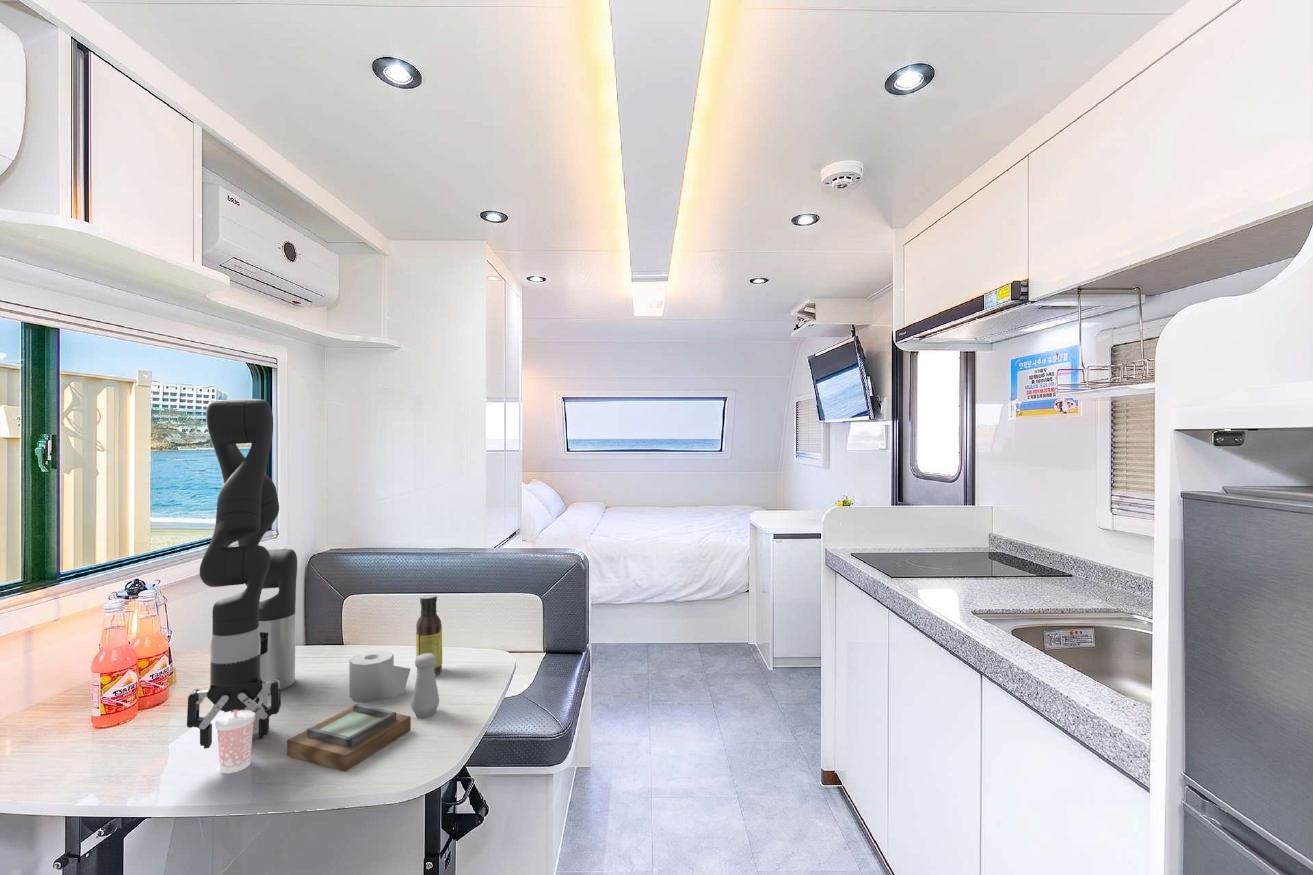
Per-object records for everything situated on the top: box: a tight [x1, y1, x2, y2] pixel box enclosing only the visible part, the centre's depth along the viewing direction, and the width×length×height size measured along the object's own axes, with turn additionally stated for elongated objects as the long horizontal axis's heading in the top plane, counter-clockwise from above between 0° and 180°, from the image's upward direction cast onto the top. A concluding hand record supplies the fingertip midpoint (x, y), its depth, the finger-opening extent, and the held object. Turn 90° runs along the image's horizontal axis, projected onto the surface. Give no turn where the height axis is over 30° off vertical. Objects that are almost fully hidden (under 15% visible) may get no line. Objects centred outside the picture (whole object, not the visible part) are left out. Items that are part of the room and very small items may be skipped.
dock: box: [286, 703, 412, 772], centre depth 117 cm, size 15×16×4 cm
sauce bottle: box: [415, 594, 443, 676], centre depth 152 cm, size 6×6×20 cm
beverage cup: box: [214, 710, 255, 774], centre depth 109 cm, size 6×6×14 cm
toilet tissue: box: [348, 649, 411, 703], centre depth 141 cm, size 9×13×9 cm
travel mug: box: [230, 632, 269, 741], centre depth 120 cm, size 6×7×20 cm
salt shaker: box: [410, 653, 440, 719], centre depth 130 cm, size 6×6×13 cm
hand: (235, 741), depth 109 cm, fingers open, 8 cm apart
